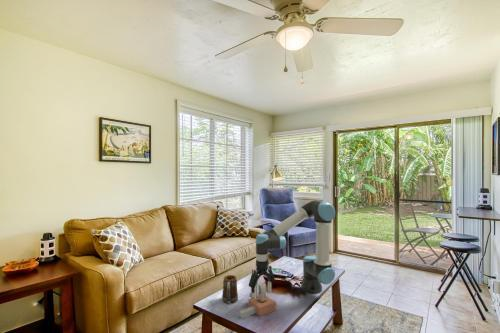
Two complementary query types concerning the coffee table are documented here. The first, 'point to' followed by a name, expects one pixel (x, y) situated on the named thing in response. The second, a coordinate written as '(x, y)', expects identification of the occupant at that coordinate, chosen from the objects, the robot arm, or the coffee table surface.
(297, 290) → the coffee table surface
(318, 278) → the robot arm
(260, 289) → the wedge pin
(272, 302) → the square hole peg fixture
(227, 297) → the mug
